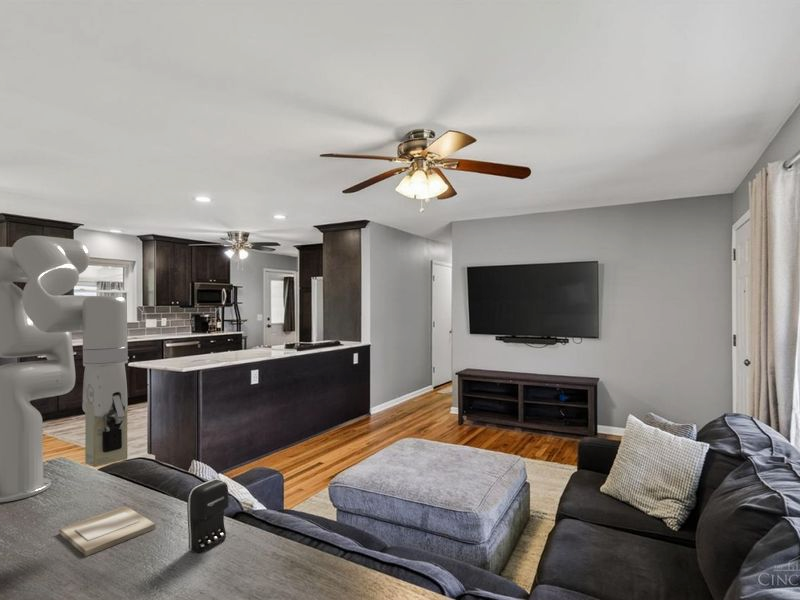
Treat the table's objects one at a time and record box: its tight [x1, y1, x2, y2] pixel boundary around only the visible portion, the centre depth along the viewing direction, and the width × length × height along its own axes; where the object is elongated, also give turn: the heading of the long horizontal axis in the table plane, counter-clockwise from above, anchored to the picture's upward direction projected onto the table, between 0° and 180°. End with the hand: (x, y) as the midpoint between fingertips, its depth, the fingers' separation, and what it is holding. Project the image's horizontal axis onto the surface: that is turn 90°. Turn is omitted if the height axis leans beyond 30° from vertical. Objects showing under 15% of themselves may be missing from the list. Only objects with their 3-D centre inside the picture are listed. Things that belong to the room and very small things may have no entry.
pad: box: [59, 505, 157, 557], centre depth 89 cm, size 14×12×1 cm
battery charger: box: [186, 478, 230, 553], centre depth 83 cm, size 7×4×11 cm, turn 150°
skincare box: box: [84, 403, 128, 468], centre depth 89 cm, size 6×4×12 cm
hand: (106, 447), depth 89 cm, fingers closed on skincare box, 4 cm apart
